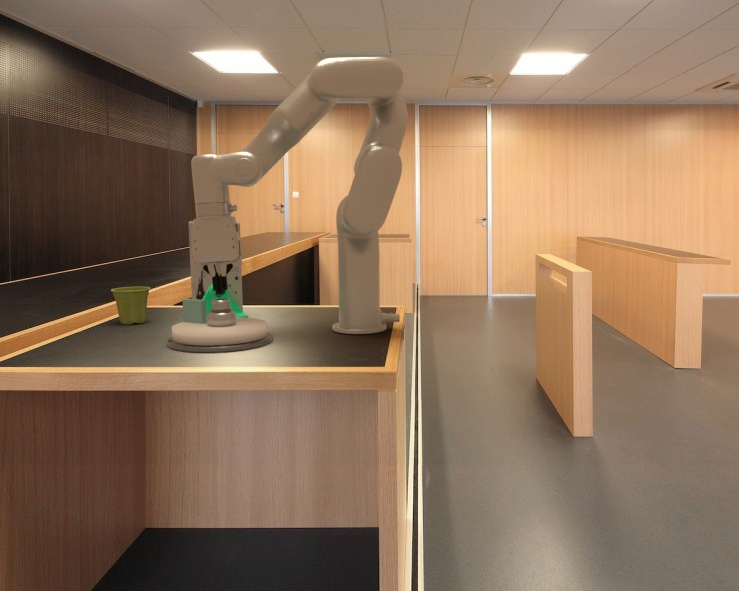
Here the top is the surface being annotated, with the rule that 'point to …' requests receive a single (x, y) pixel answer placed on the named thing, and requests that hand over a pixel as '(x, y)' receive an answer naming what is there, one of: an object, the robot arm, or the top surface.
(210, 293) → the camera mount
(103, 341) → the top surface
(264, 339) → the turntable base
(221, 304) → the cover
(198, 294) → the cereal box
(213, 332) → the turntable
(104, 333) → the top surface
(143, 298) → the plant pot
